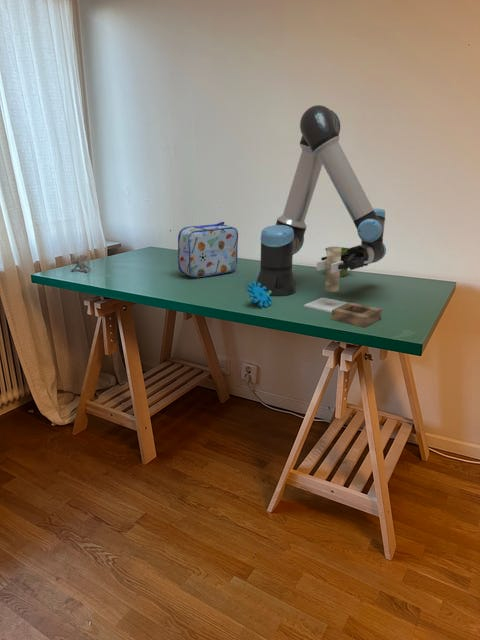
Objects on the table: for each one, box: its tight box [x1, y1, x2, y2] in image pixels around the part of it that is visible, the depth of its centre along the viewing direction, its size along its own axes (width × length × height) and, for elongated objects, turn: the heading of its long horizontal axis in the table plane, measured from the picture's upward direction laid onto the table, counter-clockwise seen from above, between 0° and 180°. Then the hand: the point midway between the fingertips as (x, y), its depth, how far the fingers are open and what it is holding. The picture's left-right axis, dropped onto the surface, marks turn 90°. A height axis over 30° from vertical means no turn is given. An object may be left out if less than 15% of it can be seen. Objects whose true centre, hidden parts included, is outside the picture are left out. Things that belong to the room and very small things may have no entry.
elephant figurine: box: [70, 255, 92, 274], centre depth 196 cm, size 10×6×9 cm
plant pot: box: [324, 246, 350, 278], centre depth 191 cm, size 12×12×11 cm
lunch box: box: [177, 221, 239, 278], centre depth 190 cm, size 28×10×22 cm, turn 129°
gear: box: [246, 281, 273, 308], centre depth 151 cm, size 11×6×10 cm
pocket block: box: [330, 301, 383, 328], centre depth 137 cm, size 11×11×3 cm
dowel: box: [324, 246, 342, 293], centre depth 146 cm, size 4×4×14 cm
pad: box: [303, 296, 348, 314], centre depth 150 cm, size 12×12×1 cm
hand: (324, 267), depth 142 cm, fingers closed on dowel, 4 cm apart
